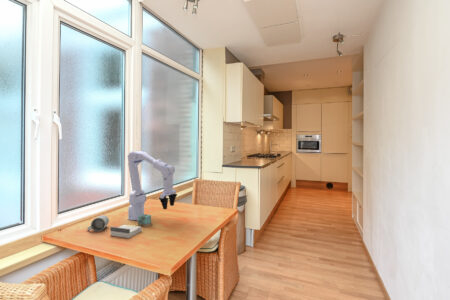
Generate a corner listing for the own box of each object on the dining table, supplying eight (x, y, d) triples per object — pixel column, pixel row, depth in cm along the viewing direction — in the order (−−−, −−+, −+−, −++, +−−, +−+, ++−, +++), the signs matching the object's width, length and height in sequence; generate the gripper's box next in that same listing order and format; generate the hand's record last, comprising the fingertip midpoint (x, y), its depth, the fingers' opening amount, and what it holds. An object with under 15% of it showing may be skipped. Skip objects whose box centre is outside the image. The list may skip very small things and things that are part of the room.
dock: (110, 235, 124) (110, 227, 124) (124, 228, 134) (124, 220, 134) (128, 238, 120) (128, 229, 120) (141, 231, 130) (141, 223, 130)
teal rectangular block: (137, 225, 138) (137, 216, 138) (142, 223, 142) (141, 214, 142) (147, 227, 136) (147, 217, 136) (151, 224, 140) (151, 215, 139)
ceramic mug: (109, 225, 139) (109, 213, 139) (105, 230, 131) (104, 217, 130) (90, 227, 137) (89, 214, 137) (85, 232, 129) (84, 219, 128)
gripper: (167, 188, 132) (167, 211, 133) (180, 183, 146) (180, 204, 147) (156, 187, 134) (157, 210, 135) (170, 182, 148) (170, 203, 149)
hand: (168, 207), depth 141 cm, fingers open, 7 cm apart
